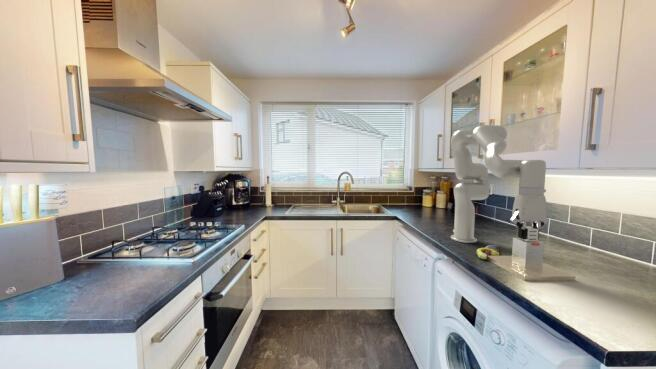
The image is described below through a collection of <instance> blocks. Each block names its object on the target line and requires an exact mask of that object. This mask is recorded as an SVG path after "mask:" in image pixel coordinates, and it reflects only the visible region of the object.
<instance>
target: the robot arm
mask: <svg viewBox="0 0 656 369" xmlns="http://www.w3.org/2000/svg"><path fill="white" fill-rule="evenodd" d="M507 134H508V131H507V129H506V128H505V127H504V126H503V125H498V124H497V125H494V124H489V125H488V124H482V125H479V126H477V127H475V128H474V129H460V130H459V129H458V130H457V131H454V133H453V135H452V136H451V140H450V147H451V150H452V154H453V159H454V160H453V162H454V172H455V174H454V175H455V177H456V178H457V180H460V181H467V182H459V183H457V184H455V186H454V187H453V196H454V224H453V227H454V228H453V230H452V232H453V234H451V235H450V239H451V240H453V241H456V242H459V243H465V244H466V243H467V244H473V243H477V242H478V239H477V238H476V237H474V236H475V220H476V219H475V217H476V214H475V213H476V208H475V205H474V203H473V202H472V201H483V200H486V199H488V198H489V196H490V192H491V190H490V179H489V171H490V173H491V174H492V175H493V176H495V177H497V178H499V179H519V182H518V194H516V195H515V198H514V201H513V205H512V211H511V214H512V215H511V218H510V222H511V223H513V224H514V225H515V226H516V228H518V230H517V238H521V239H524V240H526V235H527V230H526V229H525V228H526V226H527V223H528V222H530V223H531V227H534V228H537V229H538V240H539V238H540V230H542V227H543V226H544V225H546V224H547V223H548V222H549V219H548V217H547V214H548V213H547V200H546V196H545V193H546V192H547V190H546V189H545V185H546V184H545V183H546V169H547V163H546V161H545V160H543V159H503V158H502V157H501V156H500V154H501V153H503V152H504V151H505V150H506V148H507V142H506V141H505V140H506V139H507ZM467 146H471V147H473V146H474V147H475V146H477V147H479V146H480V148H481V149H482V150H483V151H484V152H485V154H484V164H483V163H481V162H473V156H472V153H471V151H470V150H469V149H468V148H467ZM468 181H473V182H468Z"/></svg>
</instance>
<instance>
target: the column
mask: <svg viewBox="0 0 656 369" xmlns="http://www.w3.org/2000/svg"><path fill="white" fill-rule="evenodd" d="M525 229H526V230H527V235H526V240H524V239H521V238H519V239H520V240H523V241H525V242H538V241H539V239H538V229H537V228H534V227H532V226H529V225H526V228H525Z"/></svg>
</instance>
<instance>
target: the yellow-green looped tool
mask: <svg viewBox="0 0 656 369" xmlns="http://www.w3.org/2000/svg"><path fill="white" fill-rule="evenodd" d="M499 247H503V245H499V244H488V245H486V246H485V247H480V248H477V249H476V254H477V256H478V258H480V259H481V260H487V256H500V253H499V251H500V250H499Z"/></svg>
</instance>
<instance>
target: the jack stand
mask: <svg viewBox="0 0 656 369" xmlns="http://www.w3.org/2000/svg"><path fill="white" fill-rule="evenodd" d="M511 247H512V249H511V255H499V256H491V255H490V256H487V259H486V260H488V261H489V262H491V263H493V264H495V265H496V266H498V267H500V268H502V269H503V270H505V271H507V272H508V273H511V274H512V275H514V276H516V277H517V278H518V279H521V280H522V281H525V282H526V281H527V282H528V281H529V282H531V281H533V282H534V281H536V282H542V281H543V282H545V281H547V282H550V281H552V282H553V281H554V282H555V281H557V282H559V281H560V282H562V281H563V282H565V281H566V282H569V281H570V282H573V281H576V276H575V275H573V274H571V273H568V272H566V271H563V270H562V269H559V268H556V267H555V266H552V265H550V264H548V263H545V262H544V248H545V242H543V241H539V240H538V242H525V241H523V240H520V239H519V238H518V237H512V246H511Z"/></svg>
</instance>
